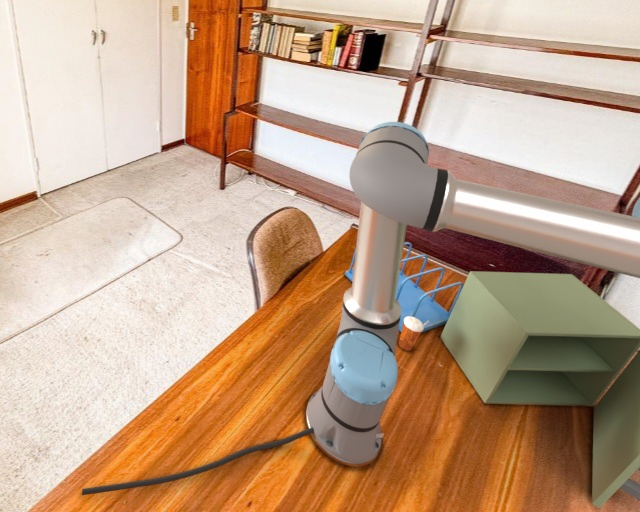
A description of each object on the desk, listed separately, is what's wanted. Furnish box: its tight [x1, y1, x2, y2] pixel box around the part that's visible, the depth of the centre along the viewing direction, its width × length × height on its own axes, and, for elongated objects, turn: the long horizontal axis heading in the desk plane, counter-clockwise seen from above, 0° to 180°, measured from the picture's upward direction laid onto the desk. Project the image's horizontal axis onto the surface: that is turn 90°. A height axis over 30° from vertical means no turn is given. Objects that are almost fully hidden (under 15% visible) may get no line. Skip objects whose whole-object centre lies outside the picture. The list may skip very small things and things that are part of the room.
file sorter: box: [344, 241, 464, 333], centre depth 117 cm, size 25×17×15 cm
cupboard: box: [440, 270, 640, 407], centre depth 95 cm, size 18×26×24 cm
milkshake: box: [398, 316, 429, 351], centre depth 103 cm, size 4×5×10 cm
